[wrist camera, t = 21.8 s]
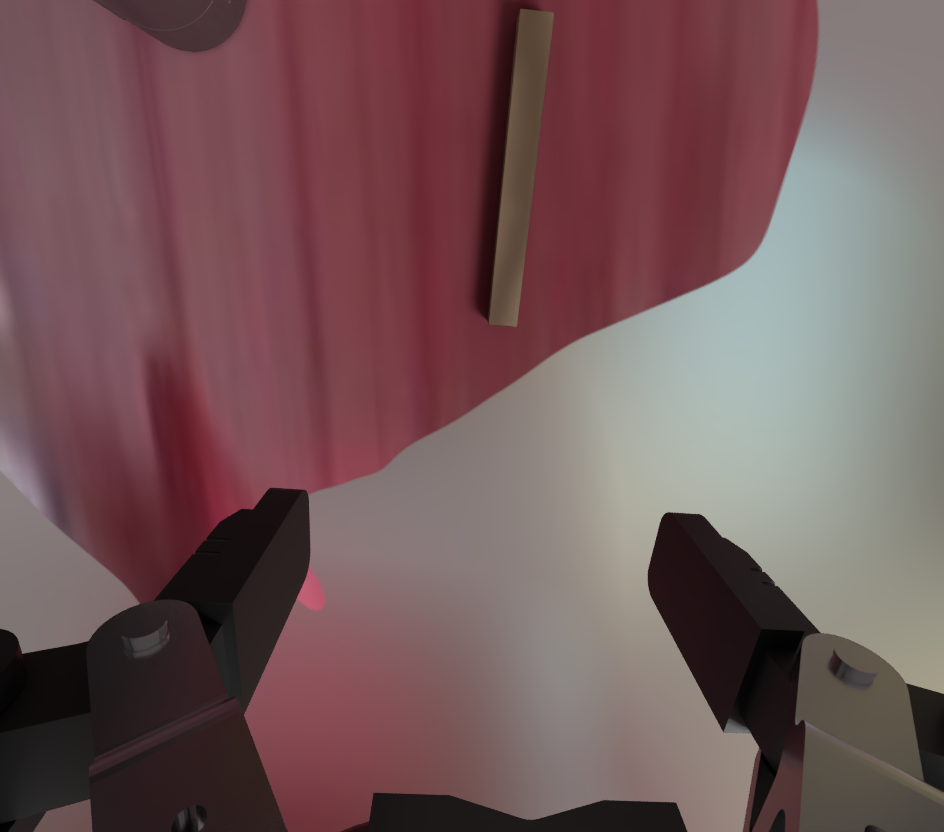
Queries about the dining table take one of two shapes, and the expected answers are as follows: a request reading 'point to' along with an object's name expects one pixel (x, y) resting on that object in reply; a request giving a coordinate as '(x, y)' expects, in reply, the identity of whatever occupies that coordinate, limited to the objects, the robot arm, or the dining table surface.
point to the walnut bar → (519, 162)
